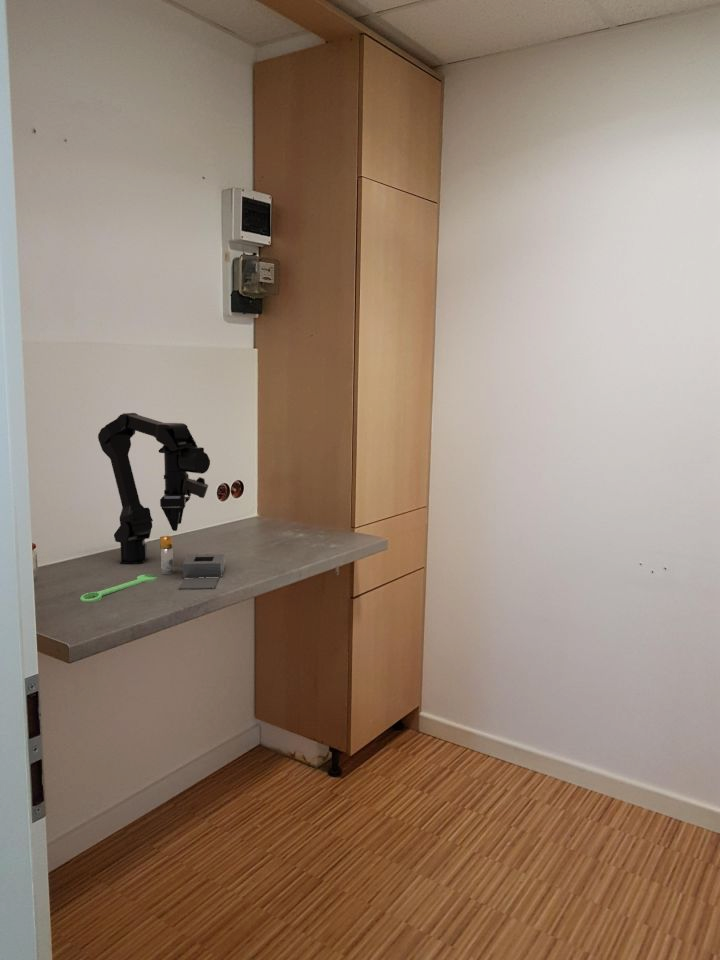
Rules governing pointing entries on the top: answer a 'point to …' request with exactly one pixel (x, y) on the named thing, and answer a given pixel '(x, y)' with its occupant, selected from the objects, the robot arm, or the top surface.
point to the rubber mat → (198, 583)
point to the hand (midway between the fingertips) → (177, 527)
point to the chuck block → (203, 566)
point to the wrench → (116, 588)
